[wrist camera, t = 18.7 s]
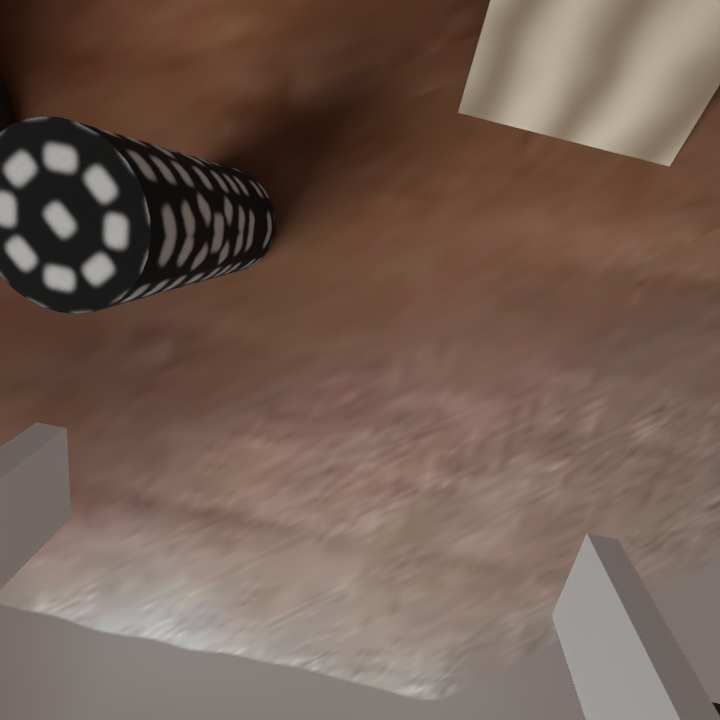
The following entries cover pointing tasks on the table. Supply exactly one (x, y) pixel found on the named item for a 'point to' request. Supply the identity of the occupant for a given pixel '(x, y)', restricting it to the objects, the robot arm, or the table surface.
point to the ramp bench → (598, 71)
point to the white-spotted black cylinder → (118, 216)
